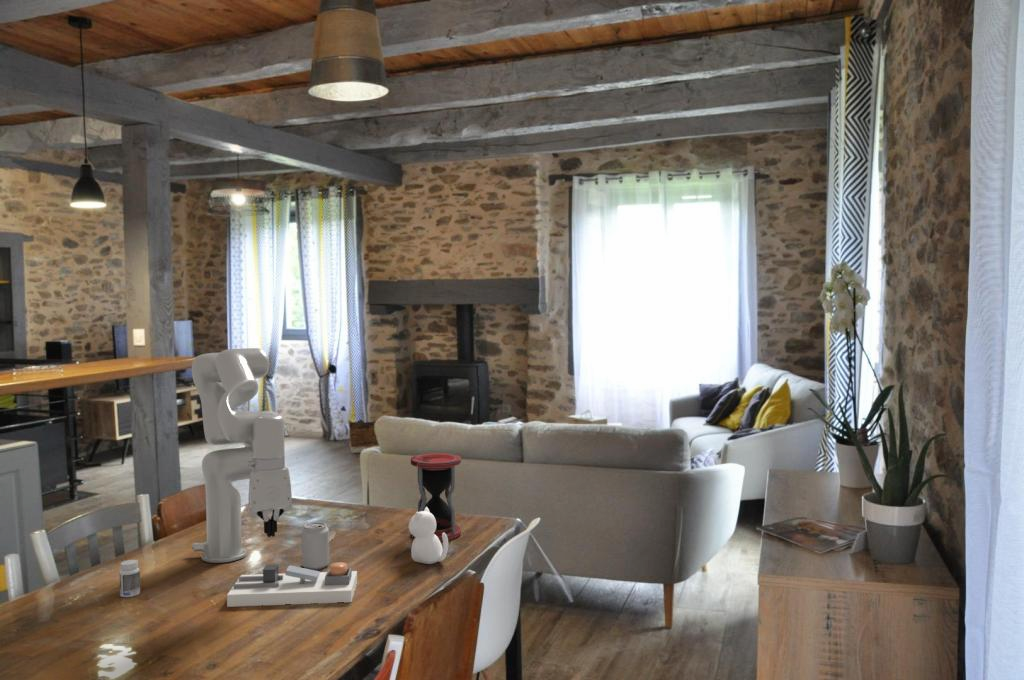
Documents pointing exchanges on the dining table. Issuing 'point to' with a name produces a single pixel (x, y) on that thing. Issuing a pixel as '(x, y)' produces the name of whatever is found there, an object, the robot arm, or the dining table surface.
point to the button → (338, 569)
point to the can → (315, 545)
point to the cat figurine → (426, 539)
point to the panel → (292, 590)
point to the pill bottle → (129, 578)
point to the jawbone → (332, 535)
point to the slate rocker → (302, 573)
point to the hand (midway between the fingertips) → (270, 535)
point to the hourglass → (438, 490)
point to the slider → (271, 573)
